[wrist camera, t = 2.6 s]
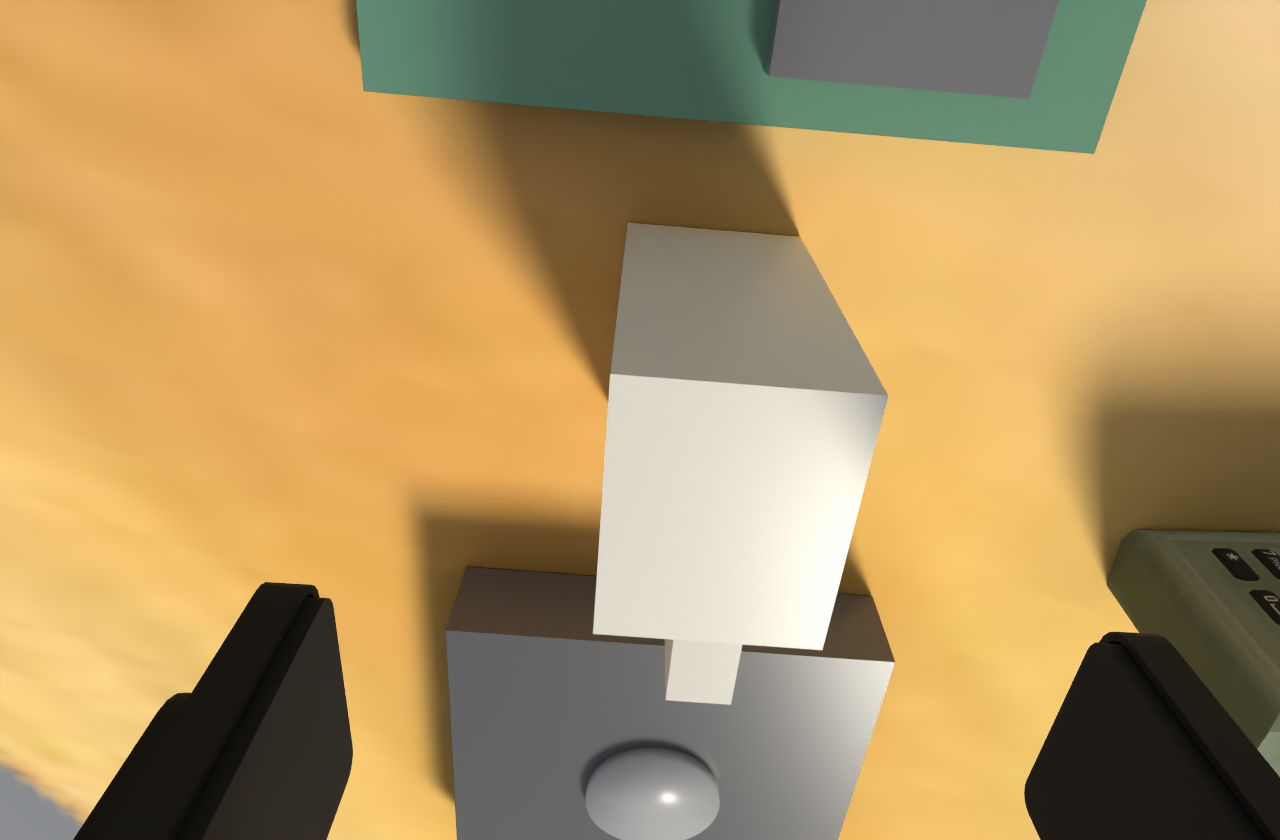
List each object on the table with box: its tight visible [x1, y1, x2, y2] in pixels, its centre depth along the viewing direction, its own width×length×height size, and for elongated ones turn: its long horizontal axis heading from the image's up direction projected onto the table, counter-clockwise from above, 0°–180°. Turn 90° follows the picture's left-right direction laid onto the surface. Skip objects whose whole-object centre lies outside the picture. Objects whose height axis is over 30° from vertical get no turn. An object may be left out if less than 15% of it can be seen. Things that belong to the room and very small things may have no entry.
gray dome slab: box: [446, 567, 895, 840], centre depth 24 cm, size 12×15×3 cm
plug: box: [593, 223, 888, 705], centre depth 17 cm, size 4×6×8 cm, turn 176°
